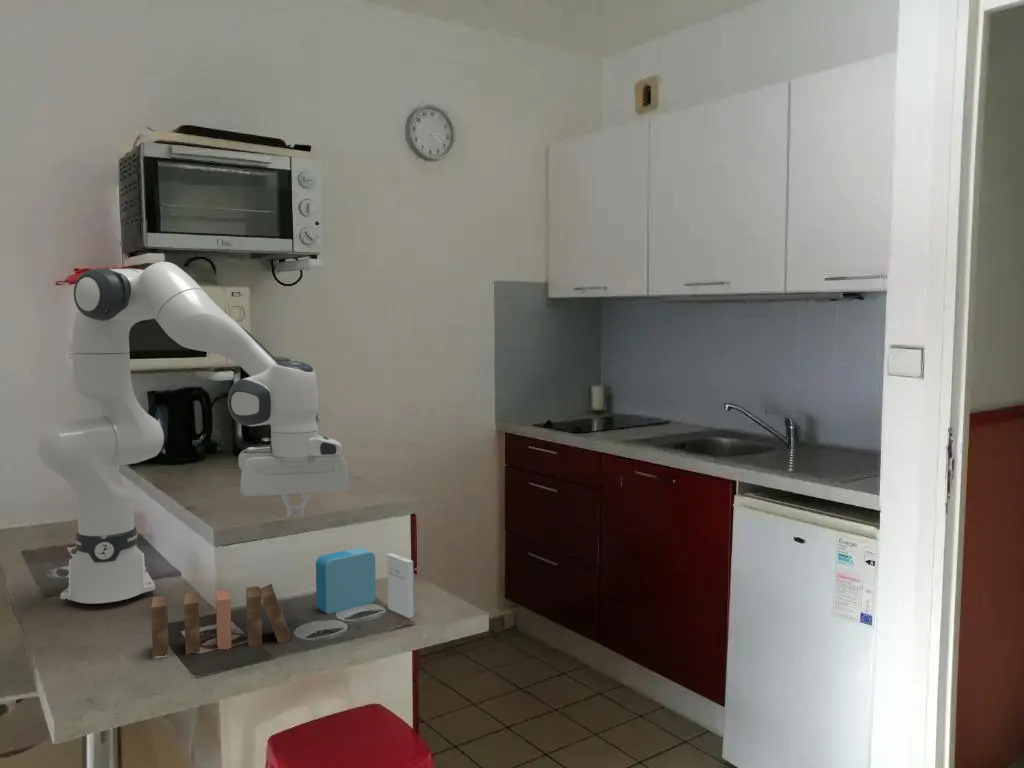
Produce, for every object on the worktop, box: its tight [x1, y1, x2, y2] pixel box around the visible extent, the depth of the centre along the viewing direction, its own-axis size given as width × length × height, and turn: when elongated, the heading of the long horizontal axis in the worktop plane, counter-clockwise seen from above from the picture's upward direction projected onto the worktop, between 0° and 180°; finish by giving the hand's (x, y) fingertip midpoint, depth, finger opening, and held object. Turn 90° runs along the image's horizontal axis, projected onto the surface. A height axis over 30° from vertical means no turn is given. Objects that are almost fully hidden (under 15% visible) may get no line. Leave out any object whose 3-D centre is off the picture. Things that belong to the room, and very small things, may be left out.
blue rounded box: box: [315, 547, 377, 615], centre depth 178 cm, size 12×4×12 cm, turn 131°
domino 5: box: [259, 583, 292, 643], centre depth 160 cm, size 2×6×10 cm, turn 20°
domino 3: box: [215, 588, 232, 650], centre depth 157 cm, size 2×6×10 cm, turn 21°
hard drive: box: [386, 552, 415, 619], centre depth 173 cm, size 2×8×12 cm, turn 41°
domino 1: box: [150, 595, 169, 658], centre depth 153 cm, size 2×6×10 cm, turn 20°
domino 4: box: [245, 585, 263, 647], centre depth 159 cm, size 2×6×10 cm, turn 21°
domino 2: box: [183, 592, 201, 654], centre depth 155 cm, size 2×6×10 cm, turn 21°
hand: (295, 515), depth 162 cm, fingers closed
